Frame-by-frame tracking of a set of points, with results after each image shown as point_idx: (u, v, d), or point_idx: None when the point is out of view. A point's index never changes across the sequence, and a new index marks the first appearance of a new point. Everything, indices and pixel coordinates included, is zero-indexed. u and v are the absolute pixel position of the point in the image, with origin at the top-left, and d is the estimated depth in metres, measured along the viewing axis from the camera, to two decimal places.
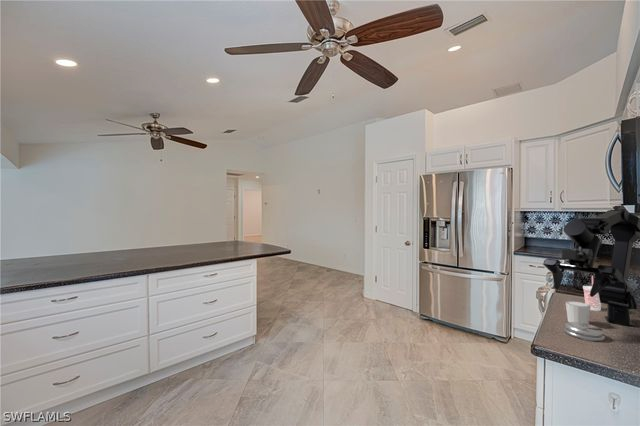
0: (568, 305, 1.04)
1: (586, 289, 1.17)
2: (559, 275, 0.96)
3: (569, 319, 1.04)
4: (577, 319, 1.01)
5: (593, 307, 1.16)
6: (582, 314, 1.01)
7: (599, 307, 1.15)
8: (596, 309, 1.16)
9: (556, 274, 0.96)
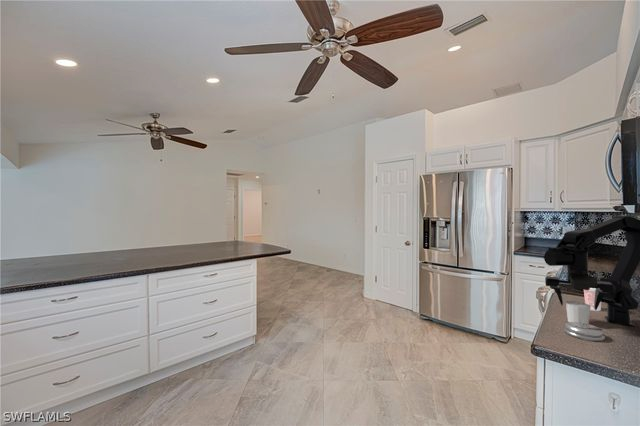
0: (568, 305, 1.04)
1: None
2: (560, 291, 1.07)
3: (569, 319, 1.04)
4: (577, 319, 1.01)
5: (593, 307, 1.16)
6: (582, 314, 1.01)
7: (599, 307, 1.15)
8: None
9: (560, 293, 1.06)
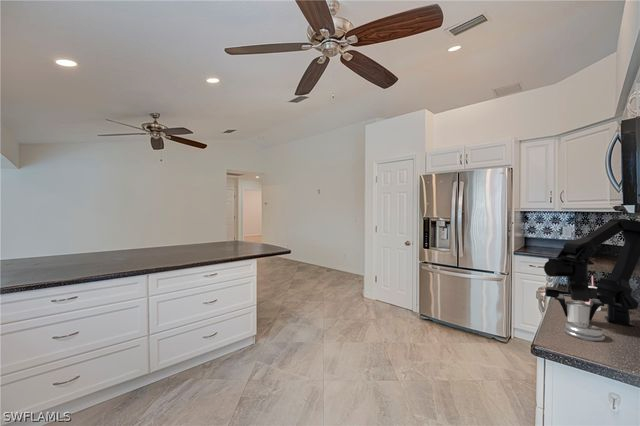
0: (568, 305, 1.04)
1: None
2: None
3: (569, 319, 1.04)
4: (577, 318, 1.01)
5: None
6: (582, 314, 1.01)
7: (599, 307, 1.15)
8: None
9: (564, 304, 1.05)
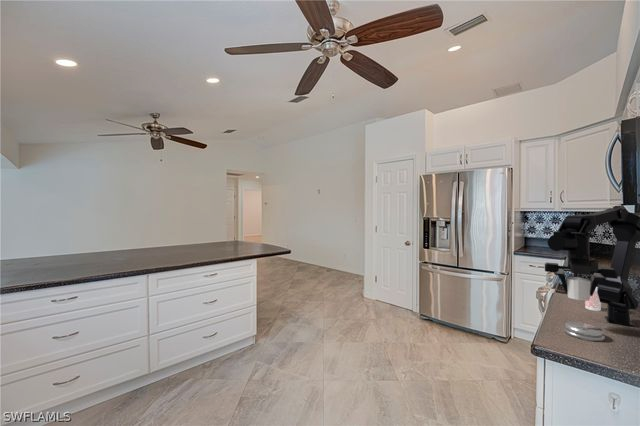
0: (568, 280, 1.00)
1: None
2: None
3: (569, 295, 1.00)
4: (577, 294, 0.97)
5: (593, 307, 1.16)
6: (582, 289, 0.97)
7: (599, 307, 1.15)
8: (596, 309, 1.16)
9: (564, 279, 1.01)
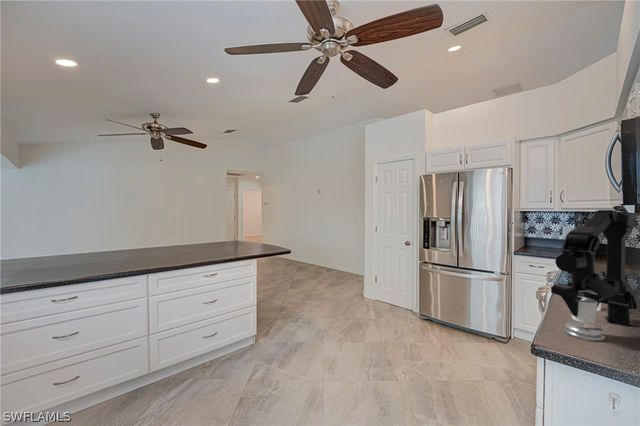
0: (581, 303, 0.91)
1: None
2: None
3: (581, 318, 0.92)
4: (592, 316, 0.90)
5: None
6: (595, 310, 0.90)
7: (599, 307, 1.15)
8: None
9: (577, 303, 0.91)
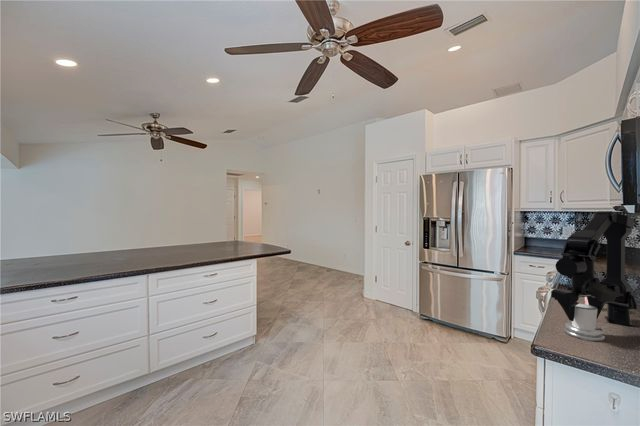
0: (581, 310, 0.91)
1: None
2: None
3: (581, 325, 0.92)
4: (592, 324, 0.90)
5: None
6: (595, 317, 0.90)
7: None
8: None
9: (574, 307, 0.91)
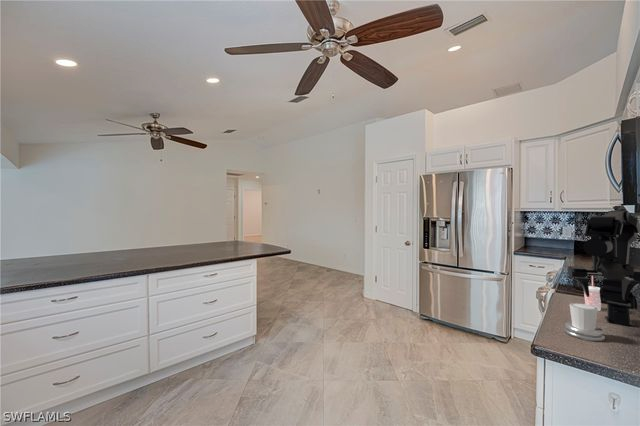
0: (581, 310, 0.91)
1: None
2: None
3: (581, 325, 0.92)
4: (592, 324, 0.90)
5: None
6: (595, 317, 0.90)
7: (599, 307, 1.15)
8: None
9: (587, 284, 0.96)
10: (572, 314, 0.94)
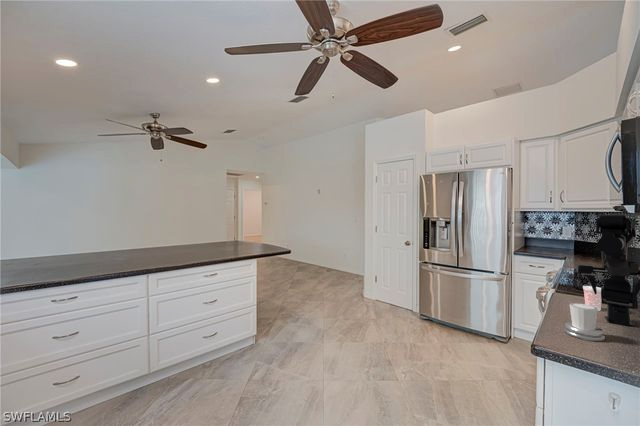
0: (581, 310, 0.91)
1: (586, 289, 1.17)
2: None
3: (581, 325, 0.92)
4: (592, 324, 0.90)
5: None
6: (595, 317, 0.90)
7: (599, 307, 1.15)
8: None
9: (594, 281, 0.98)
10: (572, 314, 0.94)
